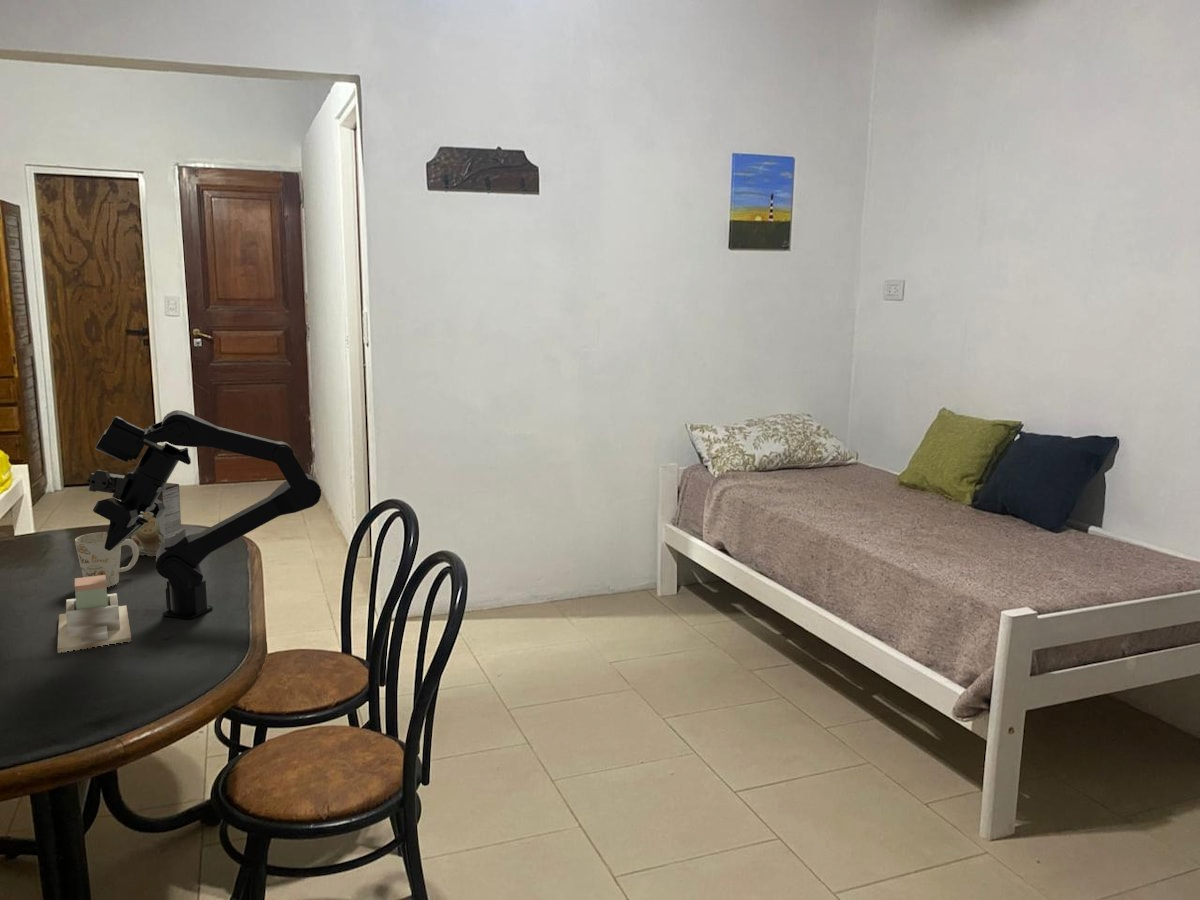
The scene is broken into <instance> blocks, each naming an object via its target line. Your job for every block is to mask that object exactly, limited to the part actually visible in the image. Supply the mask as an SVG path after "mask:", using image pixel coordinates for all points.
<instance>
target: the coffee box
mask: <svg viewBox="0 0 1200 900" xmlns="http://www.w3.org/2000/svg"><path fill="white" fill-rule="evenodd" d="M165 485H167V488H166V489H165V491H161V492H160V494H159V496H158V497H157V499H158V500H160V501H162V502H163V503H164V506H165V510H164V512H163V513H162V515H161V517H159V518H154V517H153V515H154V513H152V512H149V511H148V512H142V514H143V516H142V518H144V519H145V520H147V521H148V523H147V524H145V525H144V526H143V527H141V528H140V529H139V530H137V531H136V532H135V533H133V534H132V535H131V536H130V538H131V540H133V541H134V542H135V543H136V544H137V546H138V549H139V556H144V555H147V556H146V557H153V556H156V554H157V551H158V549H159V547H160V546H161V545H163V544H164V540H165V539H166V538H171V537H174V536H175V535H177V534H178V533H179V532H181V531H182V519H181V518H182V516H181V515H182V513H181V512H182V511H181V496H180V493H181V492H180V483H171V482H166V484H165ZM131 554H132V555H133V550H132V549H131Z"/></svg>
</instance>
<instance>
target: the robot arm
mask: <svg viewBox="0 0 1200 900" xmlns="http://www.w3.org/2000/svg"><path fill="white" fill-rule="evenodd" d="M158 443H164V444H163V445H161V444H158ZM145 446H147V448H146V449H145V450H144V453H143V454H142V456H141V458H140V459H139V461H138V463H137V465H136V467H135V468H134V470H133V471H129V472H126V474H125V475H124V474H119V473H117V474H116V473H110V472H109V471H108V470H102V469H97V470H95V472H91V473H90V476H89V478H87V479H86V483H87V484H89V487H88V491H89V492H93V493H96V492H101V493H102V492H103V493H107V494H108V493H109V494H113V495H112V496H111V497H110V498H106V499H101V500H97V502H96V504H95V506H94V507H93V509H92V512H93V513H95V514H97V515H99V516H101V517H102V518H105V519H107V520H108V521H109V524H108V525H109V526H108V531H107V532H108V534H107V539H106V543H105V547H104V548H105V549H106V550H108V551H110V550H112V549H114V548H115V547H116V546H118V545H119V544H120V543H121V542H123V541H124V540H125V539H129V537H131V535H132V534H133V533H135V532H136V531H137V530H139V529H140V528H141V527H143V526H144V525H145V524H147V523H148V521H147V520H145V519H144V518H142V516H143V514H142V512H148V511H149V512H152V513H154V515H153V517H154V518H159V517H161V515H162V513H163V512H164V510H165V506H164V503H163V502H162V501H160V500H158V499H157V497H158V496H159V494H160V492H161V491H165V489H166V488H167V485H165V484H166V483H168V480H169V478H170V477H171V475H172V473H173V472H174V470H175V468H176V466H177V464H178V463H179V462H181V463H183V464H186V465H191V463H192V461H191V456H190V455H189V448H214V449H218V450H222V451H225V452H230V453H235V454H239V455H244V456H247V457H251V458H256V459H261V460H264V461H268V462H272V463H275V464H276V465H277V467H278V468H279V470H280V471H281V473H282V475H283V477H284V478H285V479H286V480H285V481H284V482H283V483H280V485H278V487H277V488H276V489H275V490H274V491H273V492H272V493H271V494H269V495H268V496H267V497H265V498H263V499H261V500H260V501H257V502H256V503H254V504H251V505H250V506H248V507H246V508H245V509H243V510H240V511H239V512H237V513H235V514H233V515H231V516H229V517H227V518H225V519H223V520H222V521H219V522H218V523H216V524H214V525H212V526H211V527H208V528H207V529H204V530H203V531H200V532H197V533H193V534H188V532H187V530H186V529H181V532H179V533H178V534H177V535H175V536H174V537H171V538H166V539H165V540H164V544H163V545H161V546H160V547H159V549H158V551H157V554H156V557H155V569H156V572H157V573H158V575H160V577H162V578H164V579H165V580H166V579H167V581H166V587H165V603H166V609H167V610H165V611H163V612H162V613H161V614H162V615H161V616H163V617H170V618H178V619H185V620H193V619H195V618H196V617H198V616H200V615H203V614H205V613H207V612H208V611H211V610H214V606H213V605H209V604H208V600H207V580H206V579H204V572H203V564H202V562H203V561H204V560H205V559H206V558H208V556H209V555H211V553H213V552H215V551H216V550H218V549H221V548H222V547H225V546H226V545H229V544H230V543H232V542H233V541H234V542H235V540H237V539H239V538H241V537H244V536H245V535H246V534H248V533H251V532H252V531H254V530H256V529H258V528H259V527H261V526H263V525H265V524H266V523H269V522H270V521H272V520H274V519H276V518H278V517H282V516H284V515H289V514H290V515H291V514H295V513H298V512H301V511H305V510H307V509H309V508H312V507H314V506H316V505H317V504H318V503H319V502H320V500H321V497H322V488H321V486H320V484H319V483H318V482H317V481H316V479H315V478H314V477H313V475H311V474H309V473H305V471H304V469H303V468H302V466H301V465H300V462H299V461H298V459H297V457H296V455H294V450H293V449H292V447H291V445H289V444H288V443H287V442H285V441H280V440H279V441H278V440H274V439H273V440H272V439H269V438H265V437H261V436H257V435H254V434H253V435H252V434H249V433H245V432H240V431H236V430H233V429H230V428H225V427H222V426H217V425H216V424H213V423H211V422H209V421H207V420H205V419H202V418H200V417H199V416H197V415H195V414H192V413H189V412H187V411H183V410H180V409H179V410H178V409H176V410H172V411H170V412H168V413H167V414H166V415H165V416H163V419H162V421H160V422H156V423H155V424H152V425H149V426H147V427H145V428H144V429H143V428H141V427H139V426H137V425H135V424H133V423H131V422H129V421H127V420H125V419H124V418H122V417H120V416H118V415H115V416H114V417H113V419H112V421H111V422H110V424H109V426H108V427H107V428H106V429H105V430H104V431H103V433H102V435H101V437H100V439H99V440H98V442H97V444H96V445H95V447H94V449H95V450H96V451H98V452H100V453H103V454H105V455H108V456H109V457H111V458H115V459H116V460H119V461H121V462H123V463H126V464H127V463H128V461H131V462H132V461H136V460H137V459H138V457H139V456H140V454H141V452H142V450H143V448H144V447H145ZM176 446H177V447H176ZM178 447H184V448H178ZM188 447H189V448H188Z"/></svg>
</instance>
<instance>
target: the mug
mask: <svg viewBox="0 0 1200 900" xmlns="http://www.w3.org/2000/svg"><path fill="white" fill-rule="evenodd" d="M107 534H108V531H100V532H93V533H86V534H83V535H79V536H77V537H76V538H75V539H74V544H75V548H76V549H75V550H76V553H77V557H78V561H79V565H80V570H81V574H82V578H83V577H91V576H100V575H106V587H108V588H111V587H110V586H112V585H115V584H116V585H118V584H119V579H120V573H124V572H126V571H129V570H130V569H132V568H133V567H134V566H135V564H136V563H137V561H138V559H139V556H140V555H139V549H138V546H137V544H136V543H135V542H134V541H133V540H131V539H130V538H127V539H125V540H124V541H123V542H121V543H120V544H119V545H118V546H116V547H115V548H114V549H112V550H110V551H108V550H106V549H105V548H104V547H105V543H106V539H107ZM123 546H129V547H130V549H131V551H132V550H133V554H132V557H131V560H130V562H129V563H128V565H127V566H122V567H120V566H121V554H122V553H121V551H122V547H123ZM117 583H118V584H117ZM116 585H115V586H116ZM112 587H113V586H112Z"/></svg>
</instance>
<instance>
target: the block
mask: <svg viewBox="0 0 1200 900" xmlns="http://www.w3.org/2000/svg"><path fill="white" fill-rule="evenodd" d="M74 593H75V598H76V607H77V610H82V609H89V608H97V607H104V606H108V600H107V594H108V590H107V587H106V575H100V576H91V577H83V576H82V577H76V578H74Z"/></svg>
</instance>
